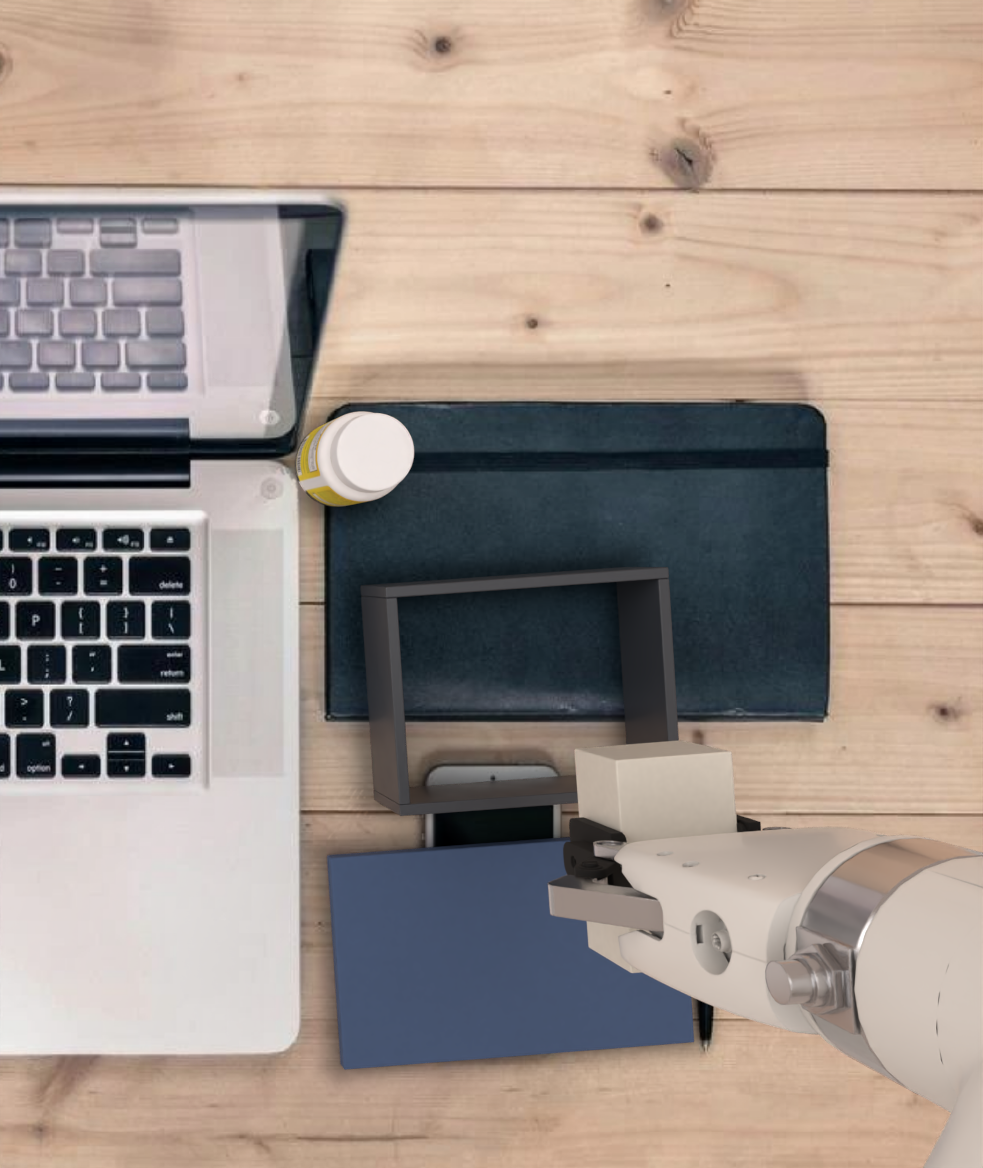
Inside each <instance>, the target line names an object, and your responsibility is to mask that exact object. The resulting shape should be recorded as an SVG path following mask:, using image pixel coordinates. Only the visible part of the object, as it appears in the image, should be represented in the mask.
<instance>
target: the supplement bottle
mask: <svg viewBox="0 0 983 1168" xmlns="http://www.w3.org/2000/svg"><path fill="white" fill-rule="evenodd" d="M414 445H415V444H414V440H413V438H412V436H411V434H410V432H409V430H408V428H406V426H405V424H403V423H402V422H401V421H400V420H399V419H397V418H395V417H394V416H391V415H388V414H386V413H379V412H372V411H352V412H348V413H345V414H343V415H341V416H338V417H337V418H334V419H332V420H330V421H327V422H325V423H324V424H322V425H319V426H317V427H316V428H313V429H312V430H311V431H310V432H309V433H308V434H307V435H306V436H305V437H304V438H303V439H302V441H301V442H300V444H299V446H298V448H297V451H296V455H295V461H294V470H295V475H296V479H297V482H298V483H299V485H300V487H301V488H302V490H303V491H304V493H305V494H306V495H307V496H308V497H309V498H310V499H312V500H313V501H315V502H317V503H319V504H320V505H323V506H327V507H334V508H340V507H346V506H347V507H348V506H352V505H357V504H362V503H367V502H372V501H375V500H378V499H381V498H383V497H384V496H386V495H388V494H389V493H390V492H392V491H393V490H394V489H395V488H396V487H397V486H398V485H399V484H400V483H401V482H402V481H403V480H404V479H405V478H406V476H407V475H408V474H409V472H410V470H411V468H412V467H413V463H414V460H415V459H414V458H415V446H414Z"/></svg>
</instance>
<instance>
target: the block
mask: <svg viewBox="0 0 983 1168" xmlns="http://www.w3.org/2000/svg"><path fill="white" fill-rule="evenodd" d="M573 751H574V763H575V764H574V765H575V775H576V780H577V794H578V803H577V806H578V818H580V817H584V818H587V819H589V820H592V821H594V822H597V823H599V824H602V825H604V826H607V827H610V828H612V829H615V830H617V831H620V832H622V833H623V834H624V835H625V837H626V840H627V843H634V842H639V841H646V840H655V839H666V838H677V837H688V836H700V835H712V834H724V833H736V832H737V817H736V814H737V806H736V805H737V804H736V789H735V777H734V775H735V774H734V763H733V752H732V751H731V750H726V749H722V748H718V747H713V746H709V745H704V744H700V743H696V742H691V741H687V740H682V739H681V740H679V741H666V742H653V743H641V744H628V745H626V744H616V745H603V746H590V747H578V748H574V750H573ZM635 930H642V929H635V928H628V927H622V926H615V925H609V924H602V923H596V922H589V921H587V932H588V946H589V948H591V949H592V950H594V951H596V952H597V953H599V954H601V955H602V956H604V957H606V958H607V959H609V960H611V961H612V962H614V963H615V964H617V965H619V966H620V967H622V968H624V969H625V970H627V971H629V972H630V973H640V972H641V971H639V970H637V969H636V968H634V967H632V966H631V965H630V964H628V963H627V962H626V961H625V960H624V959H623V958H622V957H621V953H620V947H619V941H618V936H620V935H622V934H625V933H629V932H632V931H635ZM644 931H645V932H647V933H649V934H652V933H650V932H649V931H648V930H644Z"/></svg>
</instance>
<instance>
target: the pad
mask: <svg viewBox="0 0 983 1168" xmlns="http://www.w3.org/2000/svg"><path fill="white" fill-rule="evenodd" d="M569 841H570V836H565V837H552V838H551V837H550V838H537V839H525V840H511V841H495V842H482V843H471V844H457V845H456V844H455V845H444V846H431V847H416V848H415V847H414V848H403V849H390V850H380V851H379V850H377V851H364V852H362V851H361V852H349V853H335V854H327V856H326V864H327V878H328V879H327V880H328V895H329V910H330V925H331V942H332V952H333V953H332V955H333V970H334V986H335V987H334V988H335V1000H336V1016H337V1030H338V1031H337V1032H338V1034H337V1035H338V1047H339V1064H340V1066H341V1068H342V1069H343V1070H345V1071H346V1070H347V1071H348V1070H357V1069H371V1068H382V1067H383V1068H384V1067H396V1066H397V1067H398V1066H409V1065H421V1064H435V1063H447V1062H459V1061H472V1060H473V1061H474V1060H486V1059H498V1058H510V1057H512V1058H513V1057H522V1056H525V1057H526V1056H536V1055H549V1054H562V1053H573V1052H574V1053H575V1052H588V1051H599V1050H601V1051H602V1050H613V1049H614V1050H615V1049H625V1048H637V1047H639V1048H640V1047H651V1046H664V1045H665V1046H666V1045H675V1044H676V1045H677V1044H688V1043H689V1044H690V1043H694V1042H695V1033H694V1031H695V1029H694V1016H693V1015H694V1014H693V1001H692V999H693V997H691V996H689V995H687V994H684V993H682V992H680V991H678V990H676V989H674V988H672V987H670V986H668V985H666V984H664V983H661V982H659V981H658V980H656V979H654V978H652V977H650V976H648V975H646V974H644V973H642V972H640V973H630V972H629V971H627V970H625V969H624V968H622V967H620V966H619V965H617V964H615V963H614V962H612V961H611V960H609V959H607V958H606V957H604V956H602V955H601V954H599V953H597V952H596V951H594V950H592V949H591V948H589V946H588V932H587V921H583V920H576V919H570V918H563V917H557V916H553V915H550V911H549V897H548V882H550V881H552V880H555V879H557V878H560V877H562V876H565V875H567V873H566V870H565V867H564V858H563V847H564V844H565V842H569Z"/></svg>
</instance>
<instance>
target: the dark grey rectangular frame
mask: <svg viewBox="0 0 983 1168" xmlns="http://www.w3.org/2000/svg"><path fill="white" fill-rule="evenodd" d="M669 573H670V572H669V567H668V566H619V567H604V568H603V567H602V568H591V569H590V568H589V569H575V570H563V571H548V572H546V571H545V572H533V573H532V572H531V573H519V574H518V573H517V574H503V575H491V576H489V575H487V576H477V577H476V576H475V577H462V578H461V577H460V578H447V579H432V580H418V581H417V580H416V581H404V582H390V583H377V584H374V583H373V584H362V585H360V587H359V588H360V589H359V590H360V596H361V597H360V601H361V616H362V632H363V633H362V635H363V648H364V649H363V651H364V663H365V664H364V665H365V678H366V679H365V680H366V693H367V695H366V696H367V710H368V711H367V712H368V727H369V741H370V754H371V769H372V770H371V771H372V787H373V800H374V801H375V802H377V803H378V804H380V805H382V806H383V807H385V808H386V809H388V810H390V811H391V812H393V813H395V814H396V815H398V816H400V817H407V816H408V817H409V816H419V815H421V816H422V815H431V814H432V815H434V814H435V815H436V814H448V813H458V812H459V813H462V812H472V811H473V812H474V811H487V810H501V809H514V808H515V809H516V808H528V807H529V808H530V807H542V806H543V807H544V806H555V805H568V804H578V794H577V780H576V774H570V775H555V776H544V777H543V776H541V777H528V778H516V779H515V778H514V779H503V780H501V779H500V780H488V781H477V782H476V781H475V782H463V783H462V782H461V783H446V784H434V785H421V786H420V785H419V786H410V778H409V776H410V775H409V763H408V760H409V759H408V747H407V731H406V729H407V728H406V716H405V715H406V714H405V701H404V700H405V697H404V686H403V685H404V684H403V669H402V667H403V666H402V655H401V654H402V653H401V639H400V621H399V608H398V607H399V606H398V598H406V597H407V598H408V597H421V596H435V595H436V596H437V595H448V594H449V595H451V594H462V593H464V594H465V593H477V592H478V593H481V592H493V591H507V590H521V589H535V588H537V589H538V588H550V587H551V588H552V587H564V586H578V585H579V586H580V585H591V584H593V585H594V584H606V583H616V600H617V614H618V615H617V616H618V630H619V632H618V633H619V647H620V662H621V663H620V665H621V680H622V697H623V711H624V725H625V726H624V727H625V743H626V744H625V745H628V744H641V743H653V742H666V741H679V739H680V738H679V721H678V705H677V702H678V701H677V687H676V671H675V658H674V657H675V656H674V638H673V637H674V636H673V621H672V608H671V606H672V605H671V589H670V588H671V587H670V575H669Z"/></svg>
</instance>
